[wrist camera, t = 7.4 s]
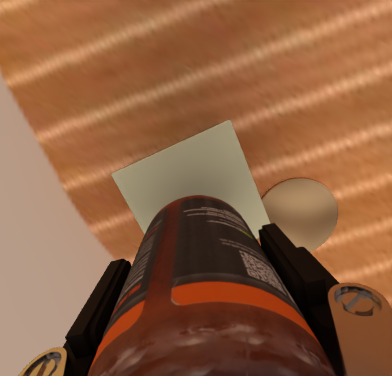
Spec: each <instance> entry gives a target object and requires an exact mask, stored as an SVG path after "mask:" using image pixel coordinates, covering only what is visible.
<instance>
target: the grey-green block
mask: <svg viewBox="0 0 392 376" xmlns="http://www.w3.org/2000/svg"><path fill="white" fill-rule="evenodd" d="M111 175H112V177H113V179H114V181H115V182H116V184H117V186H118V188H119V190H120V191H121V193H122V195H123V197H124V199H125V200H126V202H127V204H128V206H129V207H130V209H131V211H132V213H133V215H134V216H135V218H136V220H137V222H138V224H139V225H140V227H141V229H142V231H143V233H144V234H145V233H146V231H147V228H148V227H149V225H150V223H151V221H152V220H153V218H154V217H155V216H156V214H157V213H158V212H159V211H160V210H161V209H162V208H163V207H165V206H166V205H167V204H169V203H171V202H173V201H175V200H177V199H180V198H183V197H186V196H193V195H205V196H211V197H214V198H217V199H220V200H222V201H224V202H226V203H228V204H229V205H231V206H232V207H233V208H234V209H235V210H236V211H237V212H239V213H240V215H241V216H242V218H243V219H244V220H245V222H246V223H247V225H248V226H249V228H250V230H251V231H252V233H253V235H254V236H255V238H256V239H258V238H259V232H258V230H259V229H262V225H267V224H270V221H269V218H268V216H267V213H266V211H265V208H264V205H263V203H262V200H261V198H260V195H259V193H258V190H257V187H256V185H255V182H254V180H253V177H252V174H251V172H250V169H249V167H248V164H247V162H246V159H245V156H244V154H243V151H242V149H241V146H240V143H239V141H238V138H237V136H236V133H235V131H234V128H233V125H232V123H231V120H230V119H229V120H227V121H224V122H222V123H220V124H218V125H216V126H214V127H211V128H209V129H207V130H205V131H203V132H200V133H198V134H196V135H194V136H192V137H190V138H187V139H185V140H183V141H181V142H179V143H176V144H174V145H172V146H170V147H168V148H166V149H163V150H161V151H159V152H157V153H155V154H152V155H150V156H148V157H146V158H144V159H142V160H139V161H137V162H135V163H133V164H131V165H129V166H126V167H124V168H122V169H120V170H118V171H115V172H113V173H111Z"/></svg>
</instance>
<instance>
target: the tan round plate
mask: <svg viewBox="0 0 392 376" xmlns="http://www.w3.org/2000/svg"><path fill="white" fill-rule="evenodd" d="M261 200H262V203H263V205H264V208H265V211H266V213H267V216H268V218H269V221H270V224H271V223H275V224H276V225H277V226H278V227H279V228H280V229H281V230H282V232H283V233H284V234H285V235H286V236H287V237H288V238H289V239H290V240H291V242H292V243H293V244H294V245H295V246H296V247H305V248H306V249H307V250H308V251H309V252H311V251H313V250H315V249H317V248H318V247H319V246H321V245H322V244H323V243H324V242H325V241H326V240H327V239H328V238H329V237H330V235H331V234H332V232H333V230H334V228H335V226H336V223H337V219H338V206H337V202H336V199H335V197H334V195H333V194H332V193H331V191H330V190H329V189H328V188H327V187H325V186H324V185H323V184H321V183H319V182H317V181H314V180H311V179H307V178H293V179H288V180H285V181H283V182H280V183H278V184H277V185H275V186H273V187H272V188H271V189H270V190H269V191H268V192H266V193H265V195H264V196H263V197H262V199H261Z"/></svg>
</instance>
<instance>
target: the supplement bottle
mask: <svg viewBox="0 0 392 376" xmlns="http://www.w3.org/2000/svg"><path fill="white" fill-rule="evenodd" d="M88 376H337V375H336V373H335V371H334V369H333V367H332V365H331V363H330V361H329V359H328V357H327V355H326V353H325V351H324V350H323V348H322V347H321V345H320V343H319V342H318V340H317V338H316V337H315V335H314V333H313V332H312V330H311V329H310V327H309V326H308V324H307V322H306V320H305V318H304V316H303V314H302V313H301V311H300V310H299V308H298V306H297V305H296V303H295V302H294V300H293V298H292V297H291V295H290V293H289V292H288V290H287V288H286V287H285V285H284V284H283V282H282V280H281V279H280V277H279V275H278V274H277V272H276V271H275V269H274V268H273V266H272V264H271V262H270V260H269V259H268V258H267V256H266V254H265V253H264V251H263V249H262V248H261V246H260V244H259V243H258V241H257V239H256V238H255V236H254V235H253V233H252V231H251V230H250V228H249V226H248V225H247V223H246V222H245V220H244V219H243V218H242V216H241V215H240V213H239V212H237V211H236V210H235V209H234V208H233V207H232V206H231V205H229V204H228V203H226V202H224V201H222V200H220V199H217V198H214V197H211V196H205V195H193V196H186V197H183V198H180V199H177V200H175V201H173V202H171V203H169V204H167V205H166V206H165V207H163V208H162V209H161V210H160V211H159V212H158V213H157V214H156V216H155V217H154V218H153V220H152V221H151V223H150V225H149V227H148V228H147V231H146V233H145V235H144V238H143V240H142V242H141V245H140V247H139V250H138V252H137V255H136V257H135V260H134V262H133V265H132V267H131V269H130V272H129V274H128V277H127V279H126V282H125V284H124V286H123V289H122V291H121V294H120V296H119V298H118V301H117V303H116V306H115V308H114V311H113V313H112V315H111V318H110V321H109V323H108V325H107V327H106V330H105V332H104V335H103V338H102V341H101V343H100V345H99V347H98V350H97V353H96V355H95V358H94V360H93V363H92V365H91V368H90V370H89V373H88Z"/></svg>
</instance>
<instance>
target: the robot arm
mask: <svg viewBox="0 0 392 376" xmlns="http://www.w3.org/2000/svg"><path fill="white" fill-rule="evenodd" d="M258 232H259V238H260V243H261V248H262V249H263V251H264V253H265V254H266V256H267V258H268V259H269V260H270V262H271V264H272V266H273V268H274V269H275V271H276V272H277V274H278V275H279V277H280V279H281V280H282V282H283V284H284V285H285V287H286V288H287V290H288V292H289V293H290V295H291V297H292V298H293V300H294V302H295V303H296V305H297V306H298V308H299V310H300V311H301V313H302V314H303V316H304V318H305V320H306V322H307V324H308V326H309V327H310V329H311V330H312V332H313V333H314V335H315V337H316V338H317V340H318V342H319V343H320V345H321V347H322V348H323V350H324V351H325V353H326V355H327V357H328V359H329V361H330V363H331V365H332V367H333V369H334V371H335V373H336V375H337V376H392V308H391V306H390V305H389V303H388V301H387V300H386V299H385V297H384V296H383V295H382V294H380V293H379V292H378V291H376V290H375V289H372V288H370V287H368V286H365V285H362V284H358V283H339V282H338V281H337V280H336V279H335V278H334V277H333V276H332V275H331V274H330V273H329V272H328V271H327V270H326V269H325V268H324V267H323V266H322V265H321V264H320V263H319V262H318V261H317V260H316V258H315V257H314V256H313V255H312V254H311V253H310V252H309V251H308V250H307V249H306V248H305V247H296V246H295V245H294V244H293V243H292V242H291V240H290V239H289V238H288V237H287V236H286V235H285V234H284V233H283V232H282V230H281V229H280V228H279V227H278V226H277V225H276V224H275V223H271V224H267V225H262V229H259V230H258ZM130 269H131V264H130V262H129V261H126V260H125V259H120V260H115V261H111V262H110V264H109V266H108V267H107V269H106V271H105V272H104V274H103V276H102V277H101V279H100V281H99V282H98V284H97V285H96V287H95V289H94V290H93V292H92V294H91V295H90V297H89V299H88V300H87V302H86V304H85V305H84V307H83V309H82V310H81V312H80V314H79V315H78V317H77V319H76V320H75V322H74V324H73V325H72V327H71V329H70V330H69V332H68V333H67V335H66V337H65V338H66V340H67V341H66V343H65V344H64V346H63V348H62V347H56V348H52V349H49V350H47V351H46V352H43V353H42V354H40V355H38V356H37V357H36V358H35V359H33V360H32V361H31V362H30V363H29V364H28V365H27V366H26V367H25V368H24V369H23V371H22V372H21V373H20V374H19V376H88V373H89V370H90V368H91V365H92V363H93V360H94V358H95V355H96V353H97V350H98V347H99V345H100V343H101V341H102V338H103V335H104V332H105V330H106V327H107V325H108V323H109V321H110V318H111V315H112V313H113V311H114V308H115V306H116V303H117V301H118V298H119V296H120V294H121V291H122V289H123V286H124V284H125V282H126V279H127V277H128V274H129V272H130Z"/></svg>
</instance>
